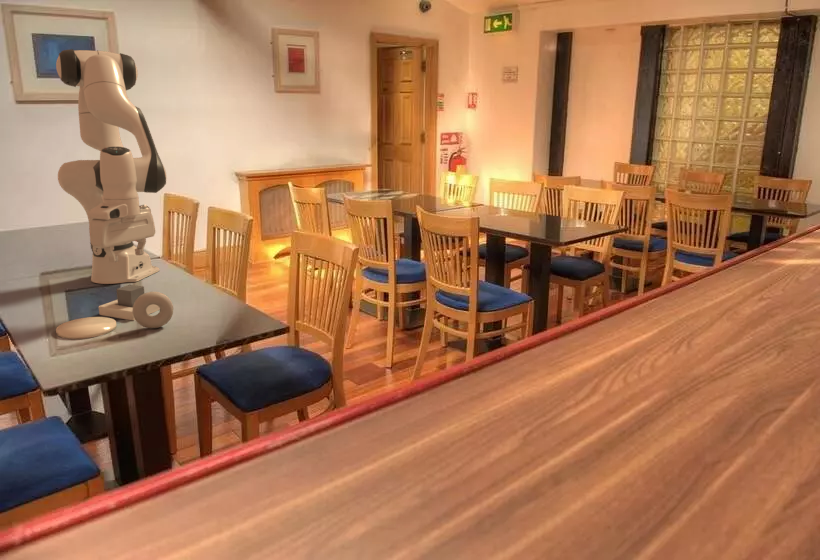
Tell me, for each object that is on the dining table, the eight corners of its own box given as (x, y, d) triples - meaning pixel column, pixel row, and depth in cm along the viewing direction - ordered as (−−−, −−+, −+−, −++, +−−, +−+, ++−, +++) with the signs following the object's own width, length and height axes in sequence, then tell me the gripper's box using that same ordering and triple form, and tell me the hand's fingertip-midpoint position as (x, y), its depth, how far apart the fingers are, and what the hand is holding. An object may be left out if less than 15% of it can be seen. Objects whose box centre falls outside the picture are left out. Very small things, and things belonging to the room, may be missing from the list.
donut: (134, 332, 164) (130, 295, 161) (134, 328, 167) (130, 291, 164) (175, 327, 168) (172, 291, 165) (174, 323, 171) (171, 288, 168)
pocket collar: (131, 302, 187) (130, 294, 187) (164, 307, 183) (163, 299, 183) (99, 314, 176) (98, 306, 176) (133, 320, 172) (132, 311, 172)
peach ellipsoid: (88, 317, 174) (87, 314, 174) (128, 324, 169) (128, 320, 169) (43, 334, 161) (43, 330, 161) (85, 342, 157) (85, 338, 157)
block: (132, 307, 183) (129, 284, 181) (146, 310, 181) (143, 286, 179) (119, 312, 178) (116, 289, 177) (133, 315, 177) (130, 291, 175)
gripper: (140, 203, 182) (145, 250, 186) (82, 212, 164) (88, 265, 167) (158, 204, 180) (162, 251, 184) (101, 214, 162) (107, 267, 165)
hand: (127, 258), depth 175 cm, fingers open, 8 cm apart
